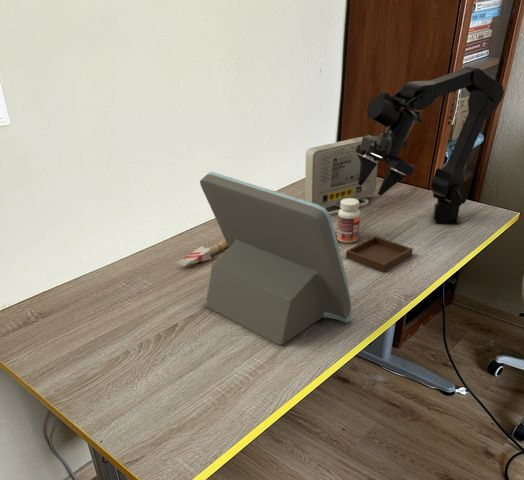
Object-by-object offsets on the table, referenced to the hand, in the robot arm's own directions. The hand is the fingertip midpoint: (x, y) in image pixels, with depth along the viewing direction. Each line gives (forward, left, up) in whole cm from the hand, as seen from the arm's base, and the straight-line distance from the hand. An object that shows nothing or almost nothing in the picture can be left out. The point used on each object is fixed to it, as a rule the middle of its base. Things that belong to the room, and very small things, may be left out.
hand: (369, 189), depth 151 cm
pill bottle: (+5, -1, -15) cm, 16 cm away
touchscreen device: (+23, +39, -15) cm, 48 cm away
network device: (+8, -27, -15) cm, 32 cm away
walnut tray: (-4, +10, -15) cm, 18 cm away
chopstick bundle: (+44, +13, -15) cm, 48 cm away
